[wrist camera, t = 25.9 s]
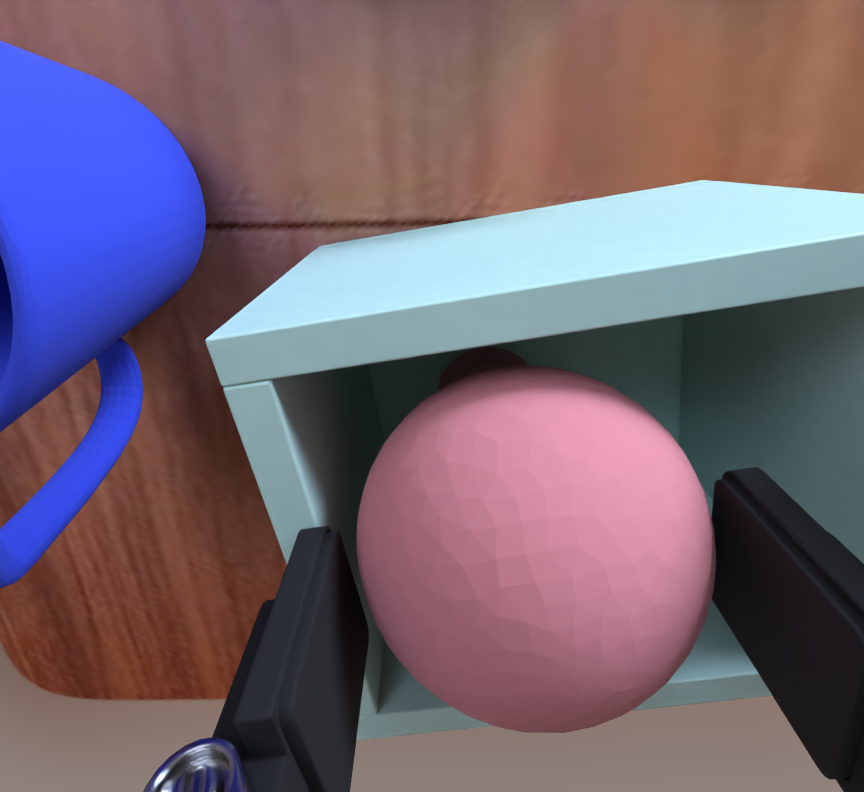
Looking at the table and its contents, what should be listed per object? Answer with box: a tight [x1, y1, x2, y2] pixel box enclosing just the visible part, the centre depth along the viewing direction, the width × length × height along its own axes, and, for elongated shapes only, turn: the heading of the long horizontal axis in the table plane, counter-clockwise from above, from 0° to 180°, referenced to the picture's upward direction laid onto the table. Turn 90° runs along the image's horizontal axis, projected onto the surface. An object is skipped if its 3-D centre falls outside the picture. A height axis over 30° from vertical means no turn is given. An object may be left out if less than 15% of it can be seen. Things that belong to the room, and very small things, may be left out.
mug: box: [0, 41, 206, 588], centre depth 13 cm, size 8×12×10 cm
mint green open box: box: [206, 180, 864, 741], centre depth 15 cm, size 13×11×10 cm
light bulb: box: [356, 347, 716, 733], centre depth 13 cm, size 7×7×12 cm
